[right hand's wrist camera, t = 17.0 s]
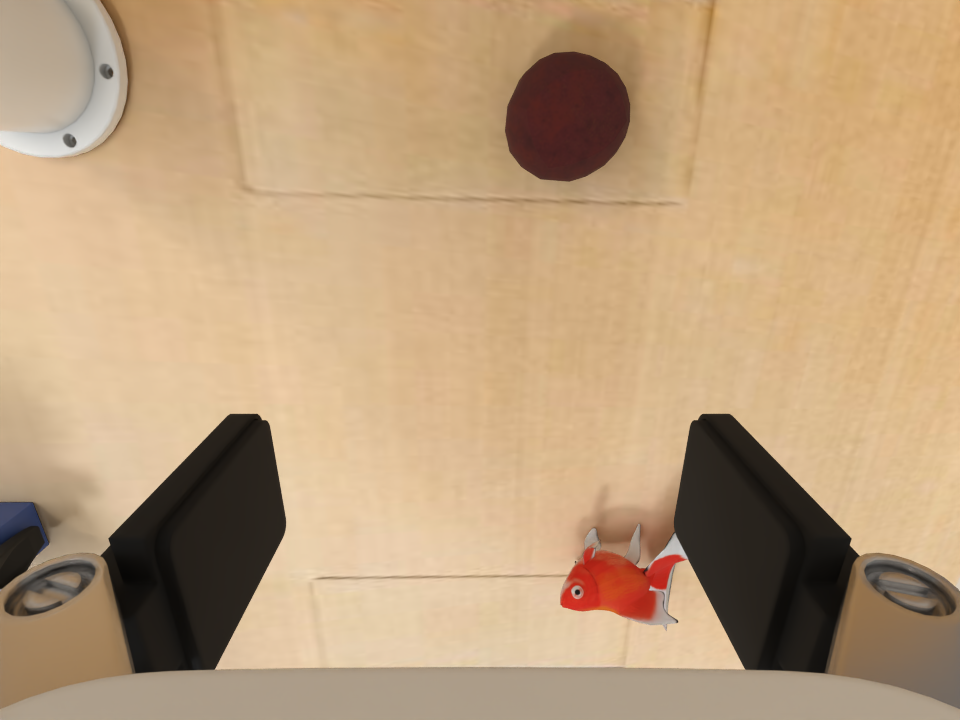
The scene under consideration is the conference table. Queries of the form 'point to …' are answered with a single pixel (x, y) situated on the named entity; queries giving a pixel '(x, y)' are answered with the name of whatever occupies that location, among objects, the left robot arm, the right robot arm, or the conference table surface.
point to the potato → (567, 116)
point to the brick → (18, 520)
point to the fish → (623, 581)
